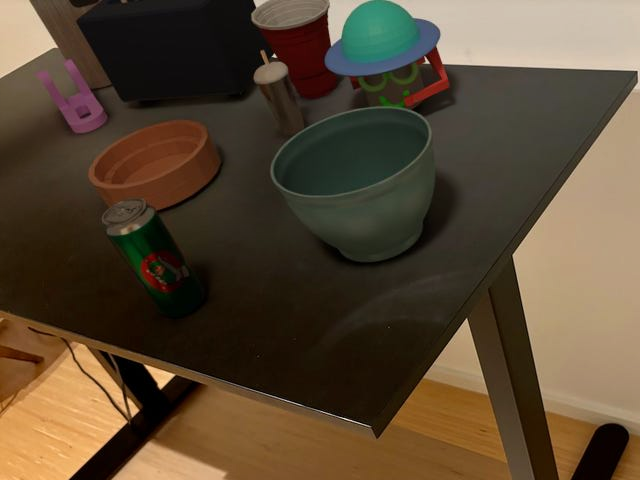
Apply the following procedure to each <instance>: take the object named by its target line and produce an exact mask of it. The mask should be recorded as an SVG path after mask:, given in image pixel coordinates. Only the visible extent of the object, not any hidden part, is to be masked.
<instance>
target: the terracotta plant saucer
mask: <svg viewBox="0 0 640 480" xmlns="http://www.w3.org/2000/svg"><path fill="white" fill-rule="evenodd" d="M213 140H214V139H213V138H212V137H211V134H210V133H209V131H208V128H207V127H206V126H204V125H203V124H202V123H200V122H199V121H195V120H191V119H190V120H189V119H172V120H168V121H164V122H163V121H162V122H158V123H154V124H151V125H147V126H146V127H143V128H140V129H137V130H135V131H132V132H131V133H129V134H127V135H124V136H123V137H121V138H119V139H118V140H116V141H115V142H113V143H112V144H111V145H110V144H109V146H107V147H106V148H105V149H103V150H102V152H101V153H99V154H98V155H97V156H96V157H94V160H93V162H92V163H91V165H90V166H89V168H88V176H87V177H88V180H89V182H91V184H92V186H93V188H94V189H95V191H96V192H97V194H98V195H99V196H100V198H101V199H102V201H103V202H104V204H105V205H106V206H107V207H108V209H109V208H110V207H112V206H113V205H115V204H116V203H118V202H120V201H123V200H126V199H129V198H142V199H144V200H145V201H146V202H147V204H149V205H151V206H153V207H154V208H155V209H156V211H157V212H158V211H160V210H163V209H167V208H170V207H173V206H175V205H177V204H179V203H181V202H183V201H185V200H187V199H188V198H190V197H191V196H193V195H195V194H197V192H199V191H200V190H201V189H202V188H203V187H205V186H207V184H209V183H210V182H211V180H212V179H213V178H214V176H216V175H217V173H218V171H219V168H220V167H221V166H220V165H221V163H222V160H221V155H220V152H219V149H218V148H217V146H216V144H215V143H214V141H213Z"/></svg>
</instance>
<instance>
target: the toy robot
mask: <svg viewBox="0 0 640 480" xmlns="http://www.w3.org/2000/svg"><path fill="white" fill-rule="evenodd" d="M440 40H441V29H440V28H439V27H438V26H437V25H436V24H435V23H434V22H432V21H431V20H427V19H423V18H416V17H413V15H411V14H410V13H409V11H408V10H407V9H405V8H404V7H403V6H401V5H400V4H398V3H396V2H393V1H391V0H368V1H365V2H363V3H361V4H359V5H358V6H356V7H355V8H354V9H353V10H352V11H351V12H350V13H349V14H348V17H347V18H346V19H345V21H344V24H343V27H342V32H341V37H340V38H339V39H337V41H335V42H334V43H333V44H331V47H330V49H329V50H328V52H327V54H326V56H325V65H326V67H327V68H328V69H329V70H331V71H332V72H334V73H335V74H336V75H339V76H344V77H348V78H349V82H350V84H351V87H352V89H353V91H355V90H358V89H361V88H362V89H363V90H364V94H365V97H366V99H367V103H368V107H377V106H378V107H380V106H387V107H399V108H404V109H408V110H411V111H413V110H414V108H416V107H418V106H419V105H420V104H421V103H423V101H424V100H425V99H427V98H429V97H431V96H433V95H435V94H438V93H439V92H440V93H441V92H443V91H444V90H446V89H448V88H451V87H450V83H449V78H448V76H447V73H446V70H445V67H444V64H443V61H442V58H441V56H440V53H439V50H438V46H437V45H438V43H439V41H440ZM426 60H427V61H426ZM426 62H428V63H429V65H430V66H431V68H432V70H433V71H434V73H435V75H436V76H437V77H438V79H439V80H437V81H436V82H434V83H432V84H430V85H428V86H427V87H425V86H424V82H423V78H422V73H421V70H420V66H421V65H422V64H423V65H424V64H425V63H426Z"/></svg>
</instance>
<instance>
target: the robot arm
mask: <svg viewBox="0 0 640 480" xmlns="http://www.w3.org/2000/svg"><path fill="white" fill-rule="evenodd" d="M69 2H70V3H71V5H73V6H74V7H76V8H81V7H84V6H88V5H92V4H95V3H98V2H99V0H69Z"/></svg>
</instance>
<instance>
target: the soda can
mask: <svg viewBox="0 0 640 480" xmlns="http://www.w3.org/2000/svg"><path fill="white" fill-rule="evenodd" d="M101 222H102V224H103V232H104V234H105V236H106V237H107V239H108V240H109V241H110V243H111V245H112V246H113V247H114V248H115V250H116V252H117V253H118V255H120V258H122V260H123V261H124V263H125V264H126V266H127V267H128V268H129V270H130V271H131V273H132V274H133V276H134V277H135V279H136V280H137V281H138V283H139V284H140V286H141V287H142V289H143V290H144V291H145V293H146V294H147V296H148V297H149V299H150V300H151V302H152V303H153V304H154V306H155V307H156V308H157V311H158V312H159V313H160V314H161V315H163V316H165V317H170V318H181V317H185V316H187V315H189V314H191V313H193V312H195V311H196V310H197V309H198V308H199V307H200V306H201V305H202V303H203V302H204V299H205V296H206V289H205V287H204V285H203V283H202V282H201V281H200V278H199V277H198V275H197V274H196V272H195V271H194V269H193V267H192V266H191V264H190V263H189V261H188V260H187V258H186V256H185V255H184V253H183V252H182V250H181V248H180V246H179V245H178V243H177V242H176V240H175V239H174V237H173V235H172V234H171V232H170V229H168V227H167V225H166V224H165V222H164V220H163V219H162V217H161V216H160V214H159V212H158V210H157V211H156V209H155V208H154V207H153V206H151V205H149V204H147V202H146V201H145V200H144V199H142V198H129V199H126V200H123V201H120V202H118V203H116V204H115V205H113V206H112V207H110V208H109V207H108V208H107V210H106V211H104V213H103V215H102V217H101Z"/></svg>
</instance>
